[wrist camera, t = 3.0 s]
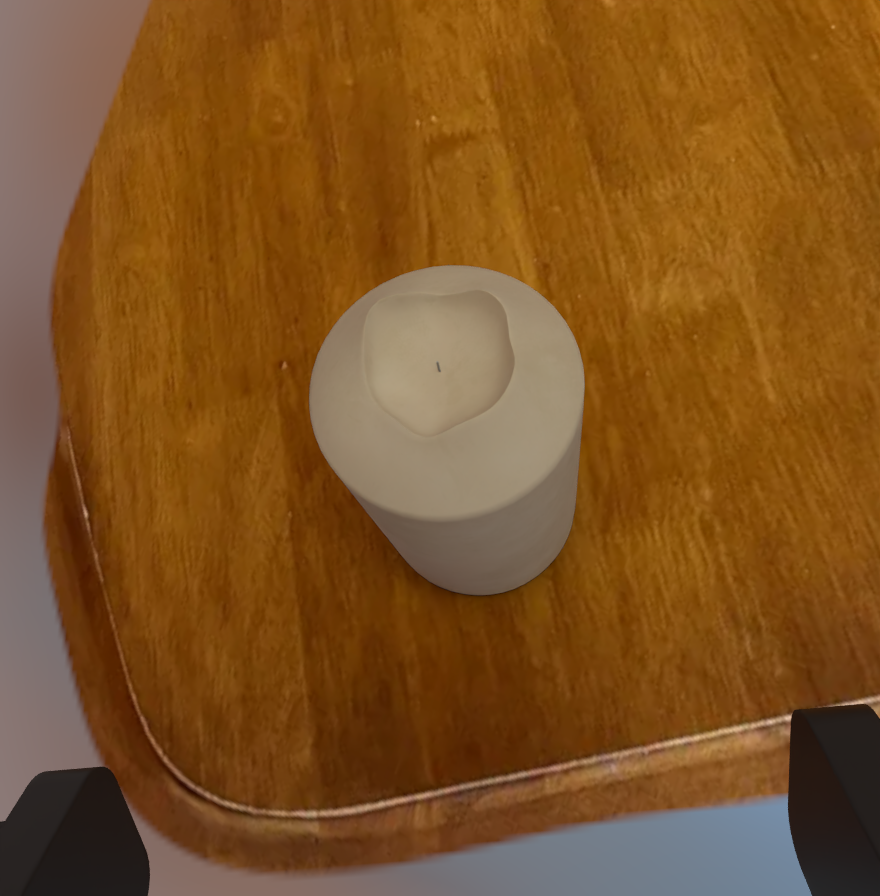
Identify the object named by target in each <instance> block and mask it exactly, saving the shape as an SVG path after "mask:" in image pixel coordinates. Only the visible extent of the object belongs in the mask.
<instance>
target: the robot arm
mask: <svg viewBox="0 0 880 896" xmlns="http://www.w3.org/2000/svg"><path fill="white" fill-rule="evenodd" d="M788 813H789V823H790V830H791V835H792V839H793V844H794V847H795V851H796V854H797V858H798V861H799V864H800V866H801V869H802V872H803V874H804V877H805V879H806V882H807V884H808V886H809V889H810V891H811V894H812V896H880V719H879V717H878V716H877V714H876V713H875V711H874V710H873V709H872V708H871V707H869V706H868V705H866V704H857V705H845V706H834V707H822V708H810V709H799V710H795V711H794V712H793V714H792V718H791V733H790V763H789V792H788ZM149 880H150V868H149V860H148V855H147V852H146V849H145V847H144V844H143V842H142V840H141V837H140V835H139V832H138V830H137V828H136V825H135V823H134V821H133V818H132V816H131V813H130V811H129V809H128V806H127V804H126V801H125V799H124V797H123V794H122V792H121V790H120V787H119V785H118V782H117V780H116V778H115V776H114V774H113V773H112V772H111V770H109V769H108V768H106V767H93V768H82V769H70V770H58V771H46V772H42V773H40V774H38V775H37V776H35V777H34V778H33V780H31V782H30V783H29V785H28V786H27V787H26V789H25V791H24V792H23V794H22V795H21V797H20V798H19V800H18V802H17V803H16V805H15V806H14V808H13V810H12V811H11V813H10V814H9V816H8V817H7V819H6V821H3V822H0V896H148V890H149Z"/></svg>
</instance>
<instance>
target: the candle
mask: <svg viewBox="0 0 880 896" xmlns="http://www.w3.org/2000/svg"><path fill="white" fill-rule="evenodd" d="M584 386H585V381H584V370H583V363H582V359H581V355H580V351H579V348H578V346H577V343H576V341H575V338H574V336H573V334H572V332H571V330H570V328H569V327H568V325H567V323H566V322H565V320H564V319H563V317H562V316H561V315H560V314H559V312H558V311H557V310H556V309H555V307H554V306H553V305H551V304H550V303H549V302H548V301H547V300H546V299H545V298H544V297H543V296H542V295H541V294H539V293H538V292H536V291H535V290H534V289H532V288H531V287H530V286H528V285H526V284H524V283H522V282H521V281H519V280H517V279H515V278H513V277H510V276H508V275H505V274H502V273H500V272H496V271H493V270H489V269H485V268H479V267H472V266H455V265H448V266H438V267H430V268H425V269H420V270H416V271H412V272H409V273H406V274H403V275H400V276H398V277H396V278H393V279H391V280H389V281H387V282H385V283H383V284H381V285H379V286H378V287H376V288H374V289H373V290H371V291H369V292H368V293H367V294H366V295H364V296H363V297H362V298H360V299H359V300H358V301H356V302H355V303H354V304H353V305H352V306H351V307H350V308H349V309H348V310H347V311H346V312H345V313H344V314H343V315H342V316H341V318H340V319H339V320H338V321H337V323H336V324H335V325H334V326H333V328H332V329H331V331H330V332H329V334H328V336H327V337H326V339H325V340H324V343H323V345H322V347H321V349H320V351H319V353H318V355H317V358H316V362H315V365H314V368H313V371H312V377H311V382H310V392H309V408H310V417H311V423H312V427H313V431H314V435H315V437H316V440H317V442H318V445H319V447H320V450H321V452H322V453H323V455H324V457H325V458H326V460H327V462H328V463H329V465H330V466H331V468H332V469H333V470H334V472H335V473H336V474H337V475H338V477H339V478H340V479H341V480H342V482H343V483H344V484H345V485H346V487H347V488H348V489H349V490H350V492H351V493H352V494H353V495H354V497H355V498H356V499H357V500H358V502H359V503H360V504H361V505H362V507H363V508H364V509H365V510H366V512H367V513H368V514H369V516H370V517H371V518H372V519H373V521H374V522H375V523H376V524H377V526H378V527H379V528H380V529H381V531H382V532H383V533H384V534H385V536H386V537H387V538H388V539H389V541H390V542H391V543H392V544H393V546H394V547H395V548H396V549H397V551H398V552H399V553H400V554H401V556H402V557H403V558H404V559H405V561H406V562H407V563H408V564H409V565H410V566H411V567H412V568H413V569H414V570H415V571H416V572H418V573H419V574H420V575H421V576H423V577H424V578H425V579H427V580H428V581H430V582H432V583H433V584H435V585H437V586H439V587H441V588H444V589H447V590H450V591H453V592H457V593H462V594H469V595H492V594H497V593H503V592H506V591H509V590H512V589H515V588H517V587H519V586H521V585H524V584H526V583H527V582H529V581H530V580H532V579H533V578H535V577H536V576H538V575H539V574H540V573H541V572H542V571H544V570H545V569H546V568H547V567H548V566H549V565H550V564H551V563H552V561H553V560H554V559H555V558H556V557H557V555H558V554H559V552H560V551H561V549H562V548H563V546H564V544H565V542H566V540H567V538H568V535H569V532H570V529H571V526H572V522H573V517H574V511H575V504H576V492H577V479H578V467H579V454H580V442H581V430H582V417H583V404H584Z"/></svg>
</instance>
